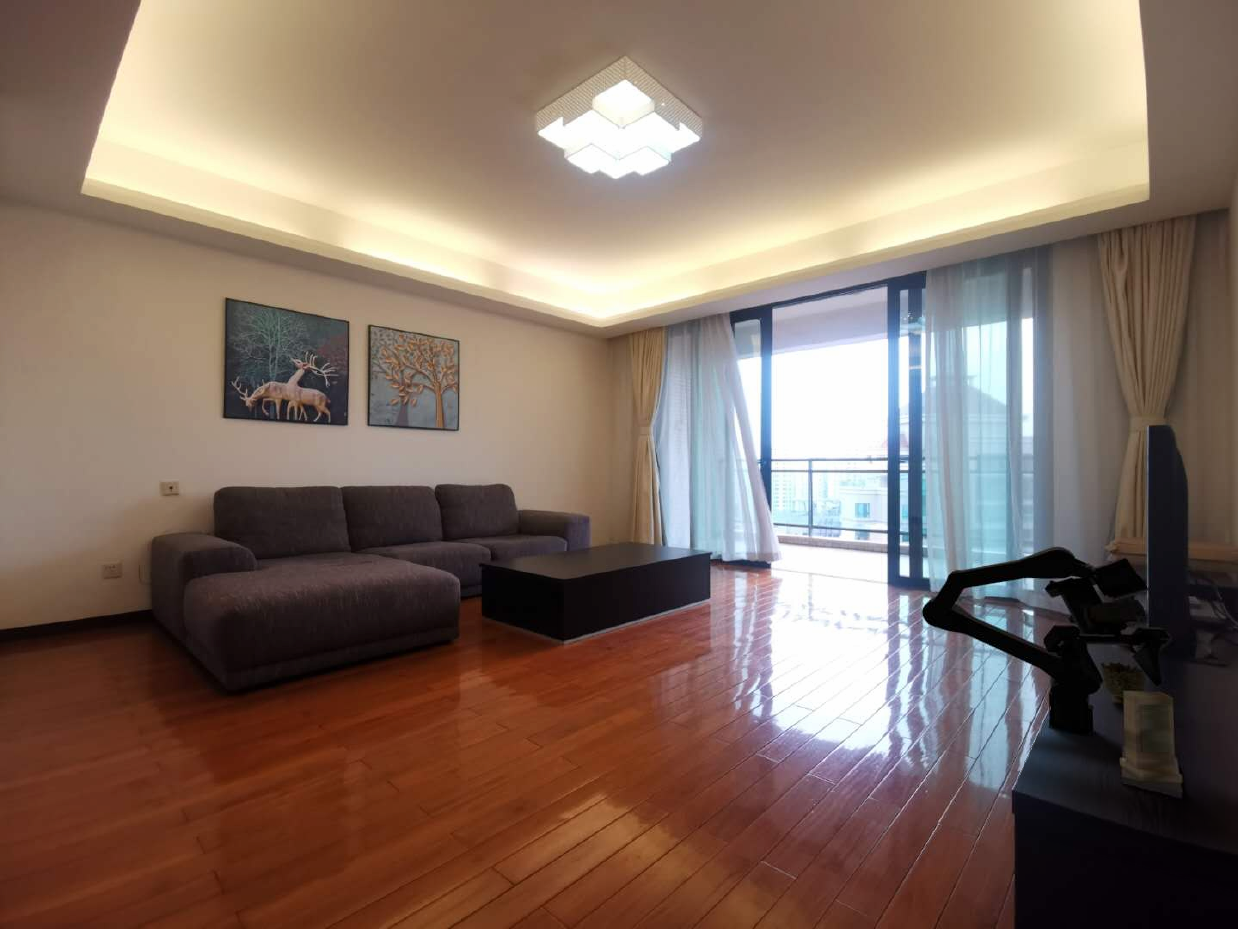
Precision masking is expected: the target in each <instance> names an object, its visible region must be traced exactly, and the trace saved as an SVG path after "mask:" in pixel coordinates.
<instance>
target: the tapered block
mask: <svg viewBox="0 0 1238 929" xmlns="http://www.w3.org/2000/svg"><path fill="white" fill-rule="evenodd" d="M1123 695H1124V705H1123V717H1124V718H1123V721H1124V722H1123V723H1124V724H1123V725H1124V746H1125V758H1122V757H1119V765H1120V766H1121V768H1122V767H1123V768H1125V769H1126V770H1128V771H1129V772H1131V773H1132V774H1134V775H1135V776H1137V777H1138V778H1140V779H1141V780H1142V781H1154V782H1172V783H1181V784H1183V775H1182V774H1181V773H1180V772H1179V773H1177V772H1176V771H1175V758H1176V757H1175V753H1176V752H1175V751H1176V750H1175V728H1174V726H1175V725H1174V721H1175V720H1174V697H1173V696H1170V695H1168V694H1165V693H1164V692H1162V691H1145V690H1143V691H1123Z"/></svg>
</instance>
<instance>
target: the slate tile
mask: <svg viewBox="0 0 1238 929" xmlns="http://www.w3.org/2000/svg"><path fill="white" fill-rule="evenodd" d="M1121 758H1125V745H1122V757H1121ZM1178 763H1179V762H1178V758H1177V757H1175V771H1176V772H1177V773H1179V774H1180V770H1179V764H1178ZM1122 782H1123V783H1127V784H1130V785H1136V786H1140V787H1144V788H1147V789H1152V790H1158V791H1168V792H1172V793H1176V794H1178V795H1182V796H1183V788H1182V787H1183V786H1182V783H1172V782H1154V781H1142V780H1141V779H1140V778H1138V777H1137V776H1135V775H1134V774H1132V773H1131V772H1129V771H1128V770H1126V769H1125V768H1123V767H1122V766H1121V783H1122Z"/></svg>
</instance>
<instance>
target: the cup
mask: <svg viewBox="0 0 1238 929" xmlns="http://www.w3.org/2000/svg"><path fill="white" fill-rule="evenodd" d="M1100 669H1101V673H1102V674H1101V676H1102V679H1103V684H1104V687H1105V688H1106V691H1108V693H1109V694H1111V695H1113V696H1112V699H1113V701H1114V702H1115V703H1116V704H1118V705H1122V706H1124V695H1123V691H1145V690H1144V688H1145V684H1146V683H1145V682H1146V676H1147V675H1146V674H1145V672H1144V671H1143V670H1142V668H1141V667H1137V665H1135V666H1133V667H1131V665H1130V664H1127V665H1125V664H1123V663H1121V662H1120V661H1118V662H1116V663H1114V662H1111V661H1110V662H1109V665H1106V664H1105V662H1100Z"/></svg>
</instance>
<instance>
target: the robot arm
mask: <svg viewBox="0 0 1238 929" xmlns="http://www.w3.org/2000/svg"><path fill="white" fill-rule="evenodd" d="M1073 577H1074V578H1073ZM1075 577H1076V578H1075ZM1022 579H1023V580H1025V579H1040V580H1046V579H1047V580H1048V579H1049V583H1048V584H1047V585H1046V586H1045V587H1044V591H1045V592H1046V593H1047V594H1048V595H1049V597H1050V598H1052V599H1053V598H1057V597H1061V599H1062V601H1063V602H1064V604H1065V606H1066V608H1067V610H1068V613H1069V614H1070V616H1069V618H1068V620H1069V623H1070V624H1076V625H1070V624H1069V625H1068V624H1067V625H1066V624H1065V625H1064V624H1063V625H1062V624H1061V625H1060V624H1059V625H1058V624H1055V625H1053V626H1052V627H1051V629H1050V630H1049V631H1048V632H1047V634H1046V635H1045V636H1044V637H1043V645H1044V647H1043V646H1041V645H1038V644H1037V643H1034V642H1031V641H1030V640H1027V639H1025V638H1022V637H1020V636H1019V635H1016V634H1014V633H1011V632H1010V631H1007V630H1005V629H1002V628H1000V627H998V626H996V625H993V624H991V623H989V622H987V621H984V620H982V619H979V618H977V617H975V616H973V615H972V614H971V613H969V612H968V611H966V610H965V609H964V608H963V607H962V606H960V605H958V604H957V603H956V602H957V601H958V599H959V598H960V597H961V595H962V593H963V591H964V590H965V589H969V588H974V587H975V588H976V587H981V586H986V585H993V584H998V583H1005V582H1010V581H1016V580H1022ZM1052 579H1054V580H1055V579H1056V580H1057V579H1063V580H1059V581H1054V580H1052ZM1094 586H1097V587H1098V590H1100V592H1101V594H1102V595H1103V596H1104V597H1105V598H1107V597H1108V598H1109V599H1110V598H1112V599H1113V600H1114V601H1106V602H1104V601H1103V600H1102V598H1101V597H1100V595H1099V593H1098V591H1097V590H1096V588H1095V587H1094ZM1149 591H1150V589H1149V587H1148V586H1147V584H1146V582H1145V581H1144V579H1143V578H1142V577H1141V575H1140V574H1139V572H1138V571H1137V570H1136V569H1135V568H1134V566H1132V564H1131V563H1130V562H1129V559H1128V558H1127V557H1125V556H1123V557H1120V558H1117V559H1115V560H1114V561H1111V562H1108V563H1105V564H1101V565H1098V566H1096V567H1095V566H1093V565H1092V564H1090V563H1089V562H1088V563H1086V562H1084V561H1083V560H1080V559H1079V558H1076V556H1075V554H1074V553H1073V552H1072V551H1070V550H1069V549H1067V548H1065V547H1061V546H1051V547H1049V548H1046V549H1043V550H1040V551H1037V552H1034V553H1032V554H1029V555H1027V556H1025V557H1022V558H1019V559H1014V560H1009V561H1004V562H999V563H993V564H988V565H983V566H977V567H971V568H966V569H955V570H953V571H952V572H951V573H949V574H948V575H947V578H946V581H945V583H944V584H943V585H942V587H941V588H940V590H939V592H938V593H937V595H936V596H934V597H932V598H931V599H929V600H928V601H927V602H926V603H925V604H924V606H923V607H922V609H921V610H922V611H921V613H922V617H923V620H924V621H925V623H926V624H928V625H929V626H931V627H934V628H935V629H937V628H938V629H939V630H943V631H947V632H952V633H956V634H963V635H965V636H968V637H971V638H972V639H975V640H977V641H979V642H981V643H983V644H986V645H988V646H990V647H991V648H994V649H996V650H998V651H1001V652H1003V653H1005V654H1008V655H1009V656H1012V657H1014V658H1017V659H1019V660H1021V661H1023V662H1025V663H1027V664H1029V665H1031V666H1034V667H1035V668H1038V669H1040V670H1041V671H1042V672H1044V673H1045V674H1047V675H1048V677H1050V683H1049V684H1050V686H1049V687H1050V688H1049V691H1048V713H1049V714H1048V715H1049V716H1048V718H1049V717H1050V718H1049V719H1048V722H1049V726H1052V727H1051V728H1053V727H1055V728H1054V729H1057V730H1063V731H1066V730H1067V731H1066V732H1072V733H1074V734H1080V735H1085V736H1089V737H1090V736H1091V732H1092V731H1095V712H1094V708H1095V707H1094V705H1093V704H1090V703H1091V702H1090V695H1094V694H1095V693H1098V691H1099V690H1100V688H1101V685H1102V684H1104V680H1103V675H1102V674H1101V672H1100V670H1099V668H1098V666H1097V665H1096V663H1095V661H1094V659H1093V658H1092V656H1091V654H1090V652H1089V650H1088V645H1097V646H1099V645H1100V646H1101V645H1102V646H1127V648H1128V649H1129V651H1130V652H1131V653H1133V655H1132V657H1131V658H1133V659H1134V661H1135V662H1136V663H1137V665H1138V666H1139V668H1141V669H1142V671H1144V672H1145V674H1146V676H1147V678H1148V679H1149V680H1150V681H1151V682H1152V683H1153V684H1154V685H1155V686H1156V687H1160V686H1162V684H1163V681H1162V674H1161V673H1162V672H1161V667H1160V660H1159V659H1160V658H1159V656H1160V653H1161V651H1162V650H1163V649H1165V648H1166V647H1167V646H1168V645H1169V644H1170V643H1171V642H1172V641H1173V638H1172V637H1171V635H1170V634H1169V632H1168V631H1167V630H1166V629H1164V628H1162V627H1160V626H1159V627H1152V626H1151V627H1150V626H1138V627H1137V628H1136V629H1135V630H1134V631H1133V632H1132V633H1130V634H1128V633H1127V634H1125V633H1123V634H1122V631H1125V630H1126V629H1127V628H1128V627H1129V626H1128V624H1127V623H1131V622H1136V623H1137V622H1138V621H1139V619H1142V618H1144V617H1145V616H1146V615H1147V614H1146V610H1145V608H1144V606H1143V604H1142V603H1141V602H1140V600H1139V599H1127V600H1122V601H1121V602H1120V601H1119V602H1118V601H1117V602H1115V601H1116V600H1121V599H1123V598H1128V597H1132V596H1135V595H1139V594H1142V593H1144V592H1145V593H1146V592H1149ZM1050 707H1051V710H1050ZM1049 710H1050V712H1049ZM1049 726H1048V727H1049Z"/></svg>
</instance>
